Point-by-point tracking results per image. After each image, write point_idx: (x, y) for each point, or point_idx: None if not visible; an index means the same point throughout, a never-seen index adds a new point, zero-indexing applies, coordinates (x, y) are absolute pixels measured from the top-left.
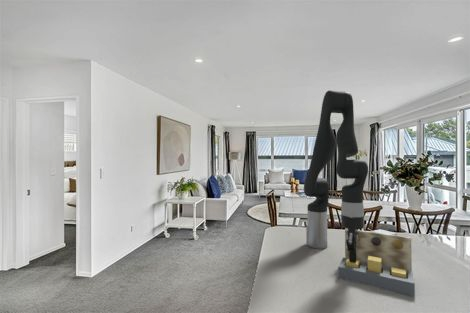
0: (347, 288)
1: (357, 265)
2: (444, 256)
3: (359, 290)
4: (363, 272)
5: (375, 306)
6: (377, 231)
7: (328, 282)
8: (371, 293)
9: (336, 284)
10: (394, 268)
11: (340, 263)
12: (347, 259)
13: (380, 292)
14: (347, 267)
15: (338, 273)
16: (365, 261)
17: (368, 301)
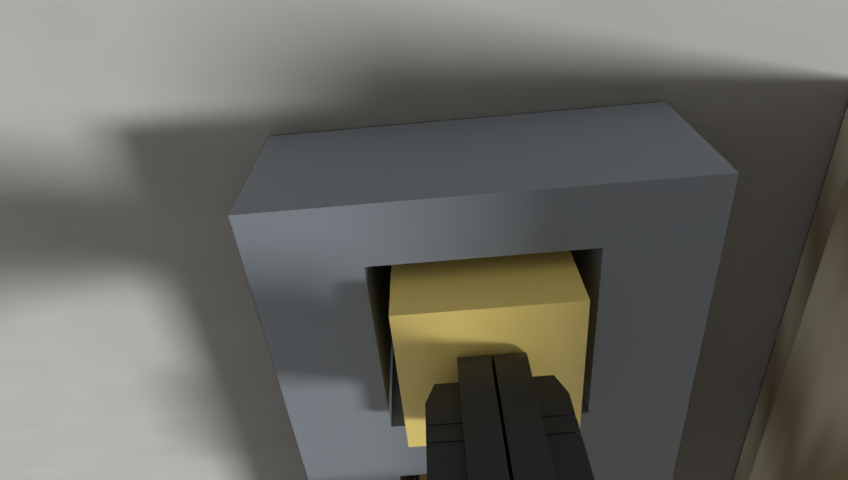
0: (98, 274)
1: (409, 429)
2: None
3: (161, 359)
4: (307, 467)
5: (13, 470)
6: None
7: (32, 64)
8: (193, 429)
9: (77, 162)
10: None
11: (400, 206)
12: (533, 310)
13: (270, 467)
14: (310, 320)
15: (257, 163)
16: (828, 372)
17: (37, 432)
